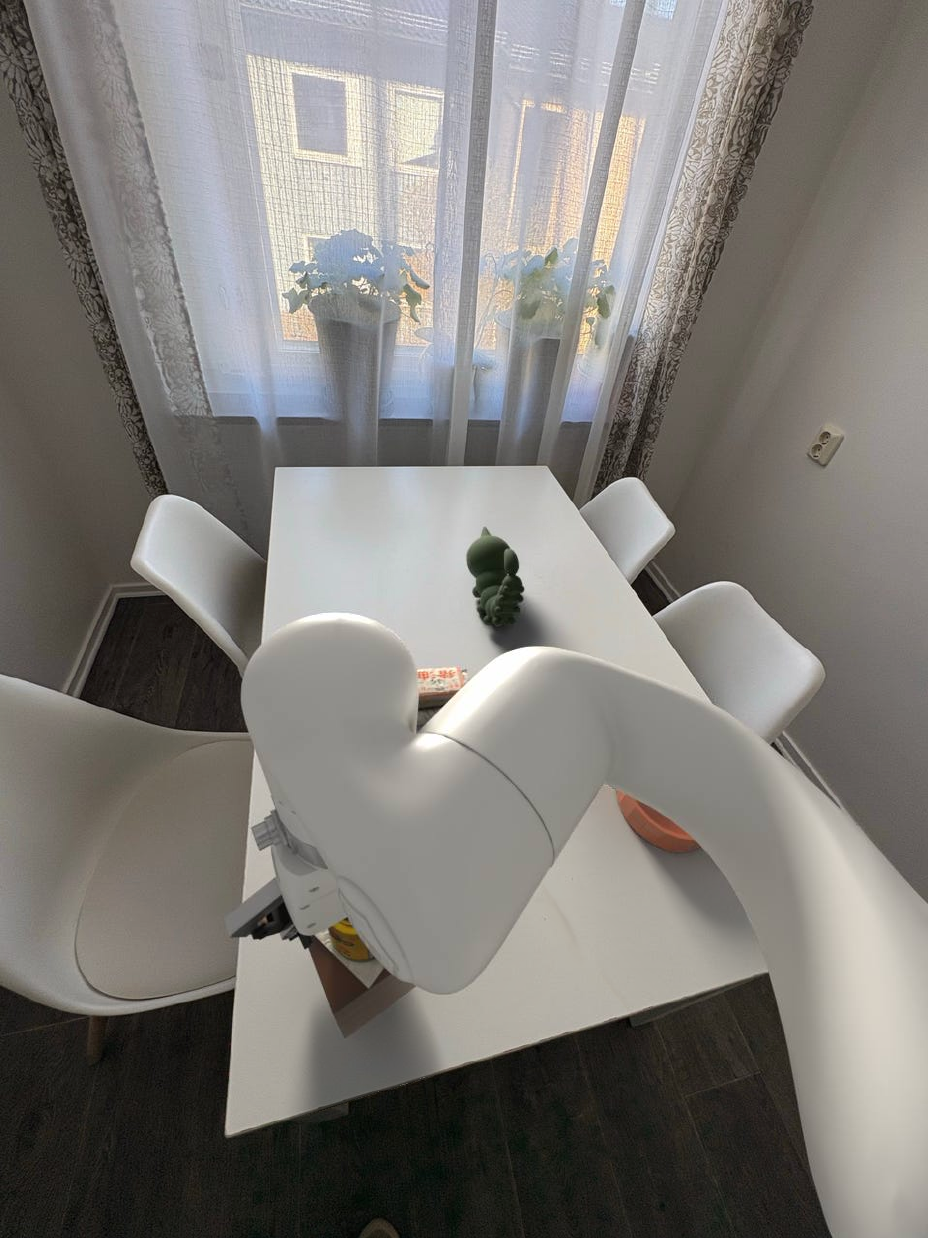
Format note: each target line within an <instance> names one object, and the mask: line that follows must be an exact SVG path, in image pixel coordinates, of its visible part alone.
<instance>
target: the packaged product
mask: <svg viewBox="0 0 928 1238" xmlns="http://www.w3.org/2000/svg"><path fill="white" fill-rule="evenodd" d="M416 669H417V668H416ZM417 673H418V684H419V701H418V714H417V726H419V725H421V726H422V725H423V726H424V725H425V724H426V723H427V722H428V721H429V720H430V719H431V718H432V717H433V716H434V715H435V714H436V713H437V712H439V711H440V709H441V708H442V707H443V706H444V705H445V704H446V703H447V702H448V701H449V700H450V699H451V698H452V697H453V696H454V695H455V694H456V693H457V692H458V691H459V690H460V689H461V688H462V687H464V686H465V685H466V684H467V683H468V682H469V681H470V677H469V673H468V670H467V668H462V669H461V667H459V666H449V667H448V666H447V667H432V668H431V667H430V668H418V669H417Z"/></svg>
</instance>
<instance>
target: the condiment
mask: <svg viewBox="0 0 928 1238" xmlns="http://www.w3.org/2000/svg"><path fill="white" fill-rule="evenodd" d="M315 936H316V937H317V938H318V939H319V940H320V941H321V942H322V943H323V944H324V945H325V946H326V947H327V948H328V949H329V950H330V951H331V952H332V953H333V954H334V955H335V956H336V957H337V958H338V959H339V960H340V961H341V962H342V963H343V964H344V965H345V966H346V967H347V968H348V969H349V970H350V971H351V972H352V973H353V974H354V975H355V976H356V977H357V978H358V979H359V980H360V981H361V982H362V983H363V984H364V985H365V986H366V987H367V988H368V989H369V988H370V987H371V985H372V984H373V982H374V981H375V980H376V978H377V977H378V975H379V974H380V973H381V971H382V970H383V968H384V967H383V966H382V965H381V964H380V963H379V962H378V960H377V959H376V958H375V957H374V956H373V954H372V953H371V952H370V950H369V949H368V948H367V947H366V945H365V943H364V942H363V941H362V940H361V938H360V937H359V936H358V934H357V933H356V931H355V929H354V928H353V926H352V925H351V923H350V921H349V919H348V917H346V918H345V919H343V920H341V921H340V922H338V923H336V924H335V925H333V926H331V927H329V928H328V929H326V930H324V931H322V932H320V933H317V934H315Z"/></svg>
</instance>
